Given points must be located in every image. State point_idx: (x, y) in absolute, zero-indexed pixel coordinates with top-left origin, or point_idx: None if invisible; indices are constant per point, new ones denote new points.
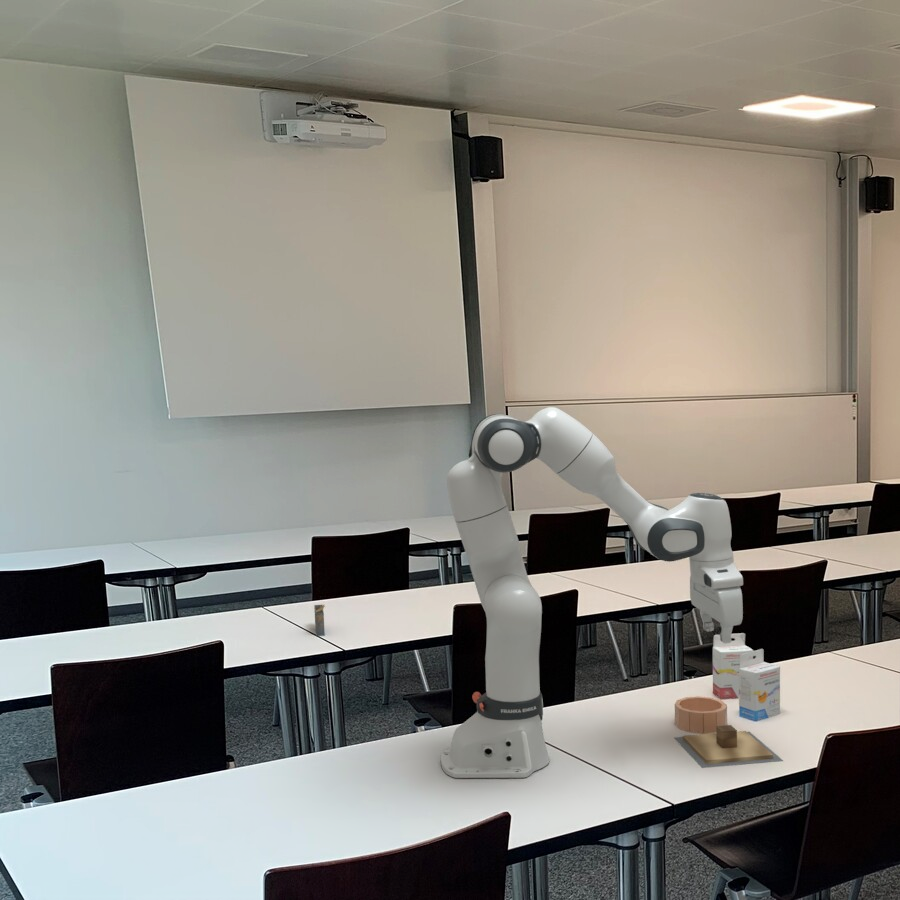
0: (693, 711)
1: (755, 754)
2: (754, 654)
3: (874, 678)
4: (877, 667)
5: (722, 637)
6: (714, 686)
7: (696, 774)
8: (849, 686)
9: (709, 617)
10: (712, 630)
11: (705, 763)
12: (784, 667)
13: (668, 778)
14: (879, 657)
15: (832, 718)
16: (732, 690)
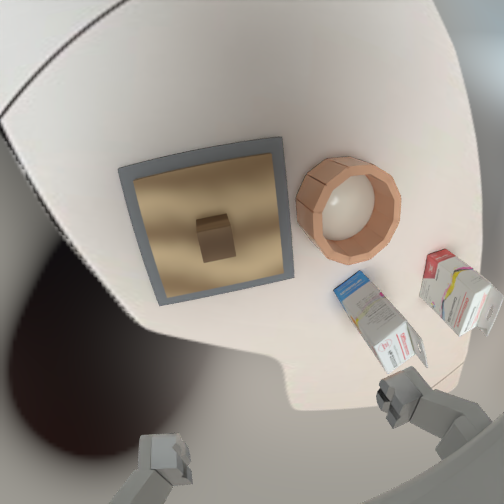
0: (325, 193)
1: (167, 272)
2: (422, 354)
3: None
4: None
5: (140, 458)
6: (448, 255)
7: (99, 156)
8: None
9: (428, 426)
10: (376, 397)
11: (137, 177)
12: None
13: (83, 105)
14: None
15: (326, 370)
16: (431, 276)
